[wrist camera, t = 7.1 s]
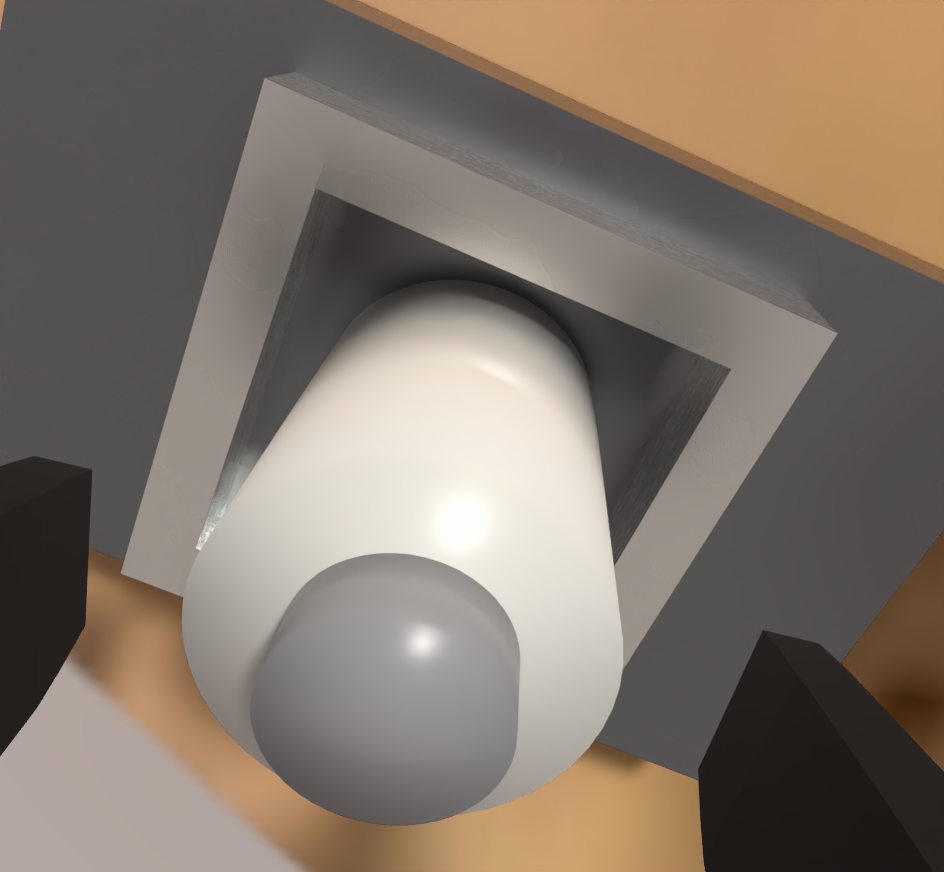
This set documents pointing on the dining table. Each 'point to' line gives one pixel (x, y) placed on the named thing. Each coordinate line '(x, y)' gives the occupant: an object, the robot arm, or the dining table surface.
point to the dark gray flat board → (456, 258)
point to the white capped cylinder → (418, 567)
